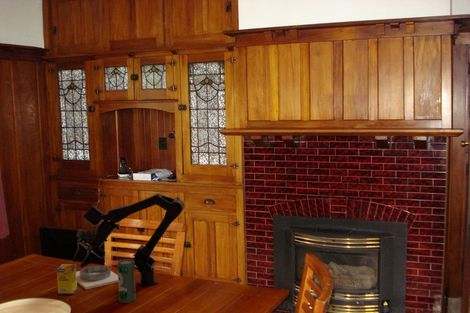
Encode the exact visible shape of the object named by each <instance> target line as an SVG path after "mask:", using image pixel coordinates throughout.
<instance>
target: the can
mask: <svg viewBox="0 0 470 313" xmlns="http://www.w3.org/2000/svg"><path fill="white" fill-rule="evenodd" d="M135 267H136V266H135V261H134V260H133V259H121V260H119V261H117V275H118V282H117V283H118V284H117V285H118V301H119V302H120V303H122V304H125V303H126V304H129V303H133V302H135V301H136V300H137V291H136V290H137V288H136V268H135Z"/></svg>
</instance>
